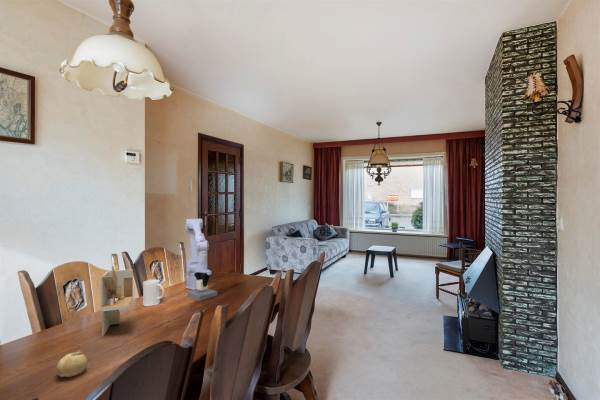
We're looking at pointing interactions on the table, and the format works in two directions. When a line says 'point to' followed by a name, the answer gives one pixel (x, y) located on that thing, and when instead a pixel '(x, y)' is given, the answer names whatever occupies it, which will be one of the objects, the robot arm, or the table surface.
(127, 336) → the table surface
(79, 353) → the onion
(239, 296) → the table surface
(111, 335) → the table surface
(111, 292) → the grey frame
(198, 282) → the block
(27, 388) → the table surface
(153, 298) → the mug
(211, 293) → the plate
